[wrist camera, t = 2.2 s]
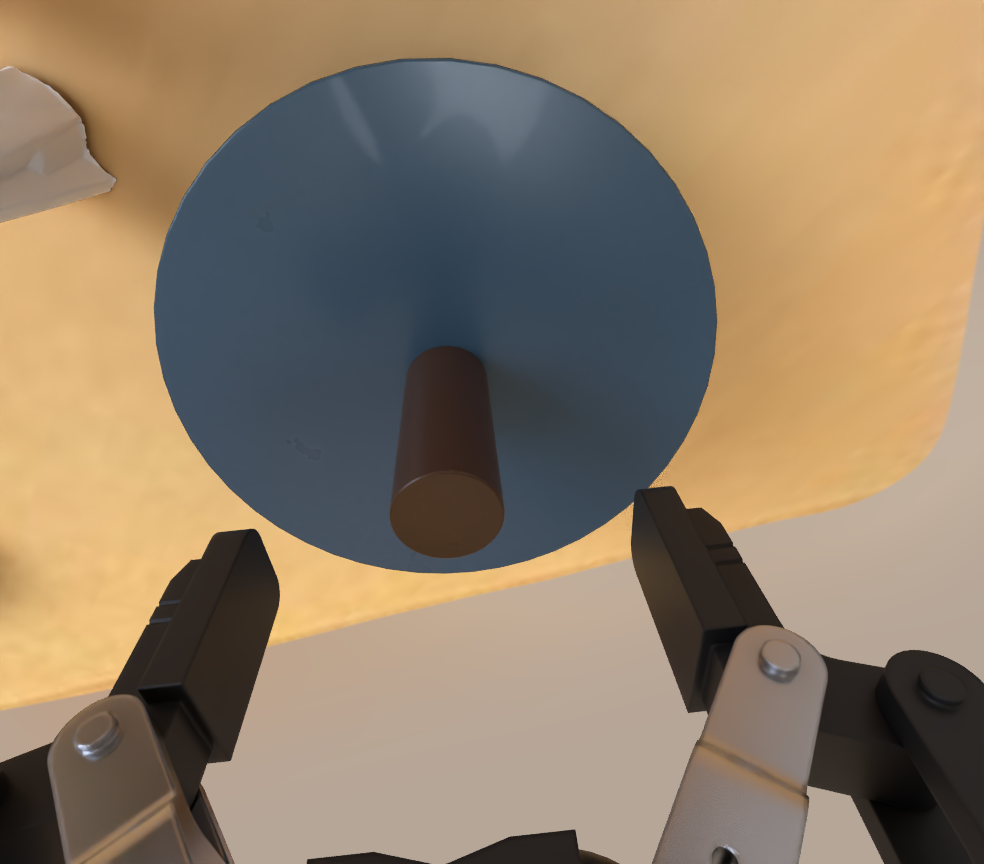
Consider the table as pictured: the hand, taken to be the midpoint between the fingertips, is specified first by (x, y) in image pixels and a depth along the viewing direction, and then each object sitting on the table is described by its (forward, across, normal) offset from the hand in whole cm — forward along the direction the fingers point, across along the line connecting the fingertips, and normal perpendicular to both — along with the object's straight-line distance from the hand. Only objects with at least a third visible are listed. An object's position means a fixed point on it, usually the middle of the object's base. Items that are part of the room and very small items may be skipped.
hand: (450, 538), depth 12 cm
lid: (+8, 0, 0) cm, 8 cm away
